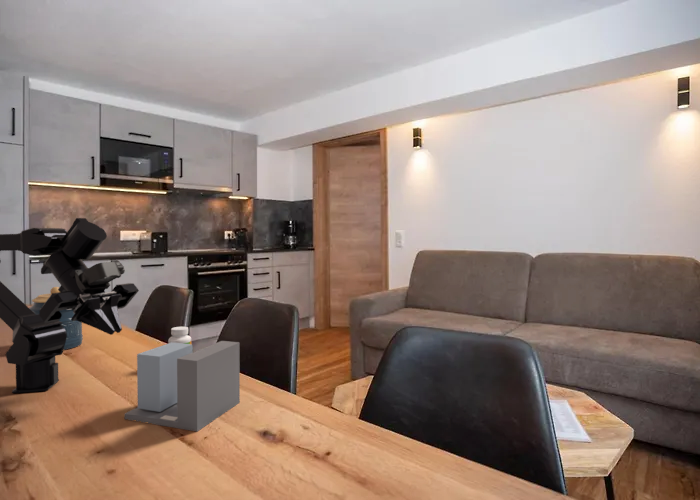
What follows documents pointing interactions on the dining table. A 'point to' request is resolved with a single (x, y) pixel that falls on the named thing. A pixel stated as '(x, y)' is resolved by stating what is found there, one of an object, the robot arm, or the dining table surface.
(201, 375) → the plate
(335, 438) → the dining table surface
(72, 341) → the canister
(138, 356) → the blue-gray rectangular block
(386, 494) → the dining table surface
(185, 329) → the supplement bottle
